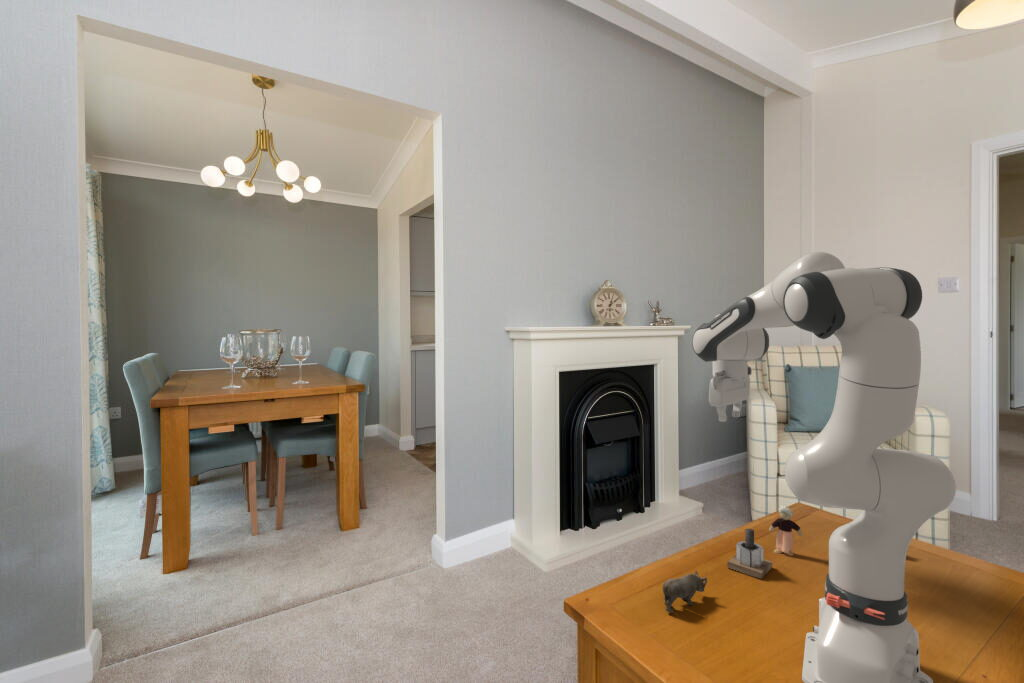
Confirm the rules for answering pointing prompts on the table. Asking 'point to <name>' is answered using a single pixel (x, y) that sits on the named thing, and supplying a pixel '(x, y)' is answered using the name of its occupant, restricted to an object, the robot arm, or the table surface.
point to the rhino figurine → (682, 589)
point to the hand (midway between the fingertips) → (729, 419)
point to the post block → (751, 571)
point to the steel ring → (749, 555)
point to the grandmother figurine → (785, 531)
